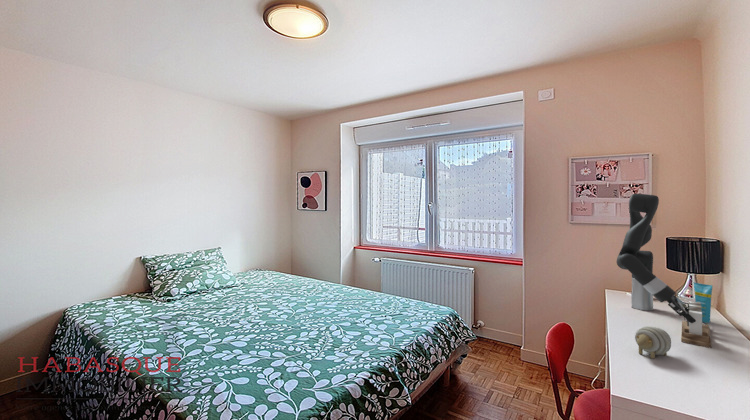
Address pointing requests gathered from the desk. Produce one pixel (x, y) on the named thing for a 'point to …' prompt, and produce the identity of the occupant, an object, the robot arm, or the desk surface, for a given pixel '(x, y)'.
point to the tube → (704, 299)
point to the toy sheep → (653, 341)
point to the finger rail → (694, 338)
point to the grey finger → (695, 323)
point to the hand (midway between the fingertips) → (693, 319)
